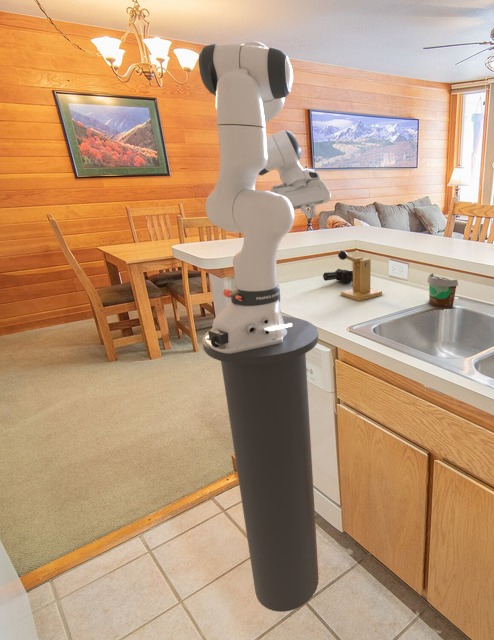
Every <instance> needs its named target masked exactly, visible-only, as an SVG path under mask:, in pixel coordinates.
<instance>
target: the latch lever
mask: <svg viewBox="0 0 494 640" xmlns="http://www.w3.org/2000/svg"><path fill="white" fill-rule="evenodd" d="M337 256H338V259H339V260H342V261H343V260H349V261H351V262H352V263H353V262H356V263H357V264H356V265H357V266H360V260H361V259H358V260H356V259H354V258H355V257H351V256H350V255H348V253H347V252H346V251H345V250H340V251H339V252H338V254H337Z"/></svg>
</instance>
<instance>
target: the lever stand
mask: <svg viewBox="0 0 494 640" xmlns="http://www.w3.org/2000/svg"><path fill="white" fill-rule="evenodd" d="M353 258H354V259H356V260H358V259H361V260H360V266H357V265H356V264H357V263H356V262H353V261H352V271H353V281H352V288H351V289H346V290H342V291H340V295H341V296H342V297H345V298H348V299H351V300H354V301H357V302H361V301H364V300H368V299H373V298H375V297H379V296H382V295H383V291H382V290H378V289H375V288H373V287H372V288H371V271H372V270H371V268H372V266H371V264H372V261H371V260H372V259H371V258H365V259H364V257H363V256H359V257H353Z"/></svg>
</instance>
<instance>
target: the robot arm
mask: <svg viewBox="0 0 494 640" xmlns="http://www.w3.org/2000/svg"><path fill="white" fill-rule="evenodd" d="M198 70H199V75H200V78H201V82H202V84H203V86H204V87H205V88H206V90H207V91H208V92H209V93H210V94H212V95H213V96H214V97H215V113H216V114H215V115H216V117H215V118H216V125H217V136H218V147H219V170H218V176H217V180H216V184H215V186H214V188H213V190H212V191H211V192H210V193H209V194H208V196H207V198H206V201H205V213H206V216H207V219H208V221H209V222H210V223H211V224H212V225H213V226H215V227H217V228H220V229H222V230H224V231H227V232H228V233H229V232H230V233H235V234H242V235H243V244H242V247H241V250H239V251H238V252H236V253H235V255H234V256H233V258H232V266H233V267H232V268H233V274H234V283H235V286H234V289H233V290H230V289H228V288H225V289H224V290H223V291H222V296H224V297H226V298H230V302H229V304H227V306H225V308H224V309H222V311H220V312H219V314H217V315H216V316H215V317H214V319H213V321H212V327H211V330H210V329H209V330H207V332H208V333H209V335H208V336H206V337H205V344H206V345H207V346H208V347H210V348H211V349H213V350H215V351H217V352H221V353H226V354H231V353H236V352H241V351H246V350H251V349H255V348H260V347H265V346H270V345H274V344H279V343H282V342H283V338H284V337H285V336H286V335H287V330H286V327H291V326H292V323H290V324H285V325H284V321H283V318H282V316H283V314H282V310H281V309H282V308H281V290H280V285H279V284H278V272H277V257H278V251H279V248H280V247H279V246H280V244H281V242H282V240H283V238H284V237H285V236H286V235H287V234H288V233H289V232H290V231H291V230H292V228H293V226H294V223H295V210H300V211H301V212H302V213H303V214H304V215H305V216H306V217H307V219H312V218H313V219H314V218H316V217H317V216H318V215H317V212H316V206H317V205H322V204H327V203H328V202H329V201H330V199H331V197H332V194H331V192H330V189H329V188H328V186H327V184H326V183H325V182H324V181H323V180H322V179H321V175H320V173H319V172H316V171H311V170H306V169H304V167H303V166H302V165H301V163H300V160H301V156H302V151H303V150H302V148H301V146H300V144H299V143H298V139H296V136H295V134H294V133H293V132H292V131H290V130H287V129H283V130H282V129H281V130H280V131H276V132H274V133H272V134H270V135H268V136H267V128H266V127H267V126H266V124H267V123H269V122H271V121H272V120H273V119H274V118H276V117H277V116H278V115H280V113H281V111H282V110H283V108H284V105H285V101H286V98H287V97H288V96H289V94H290V93H291V91H292V86H293V81H294V72H293V67H292V65H291V61H290V58H289V56H288V55H287V53H285V52H284V50H282V49H279V48H276V47H272V46H270V47H269V48H268V46H266V45H265V44H264V43H261V42H259V41H255V40H251V41H248V42H244V43H228V44H227V43H226V44H217V43H213V44H208V45H205V46H203V47H202V48H201V50H200V52H199V54H198ZM273 170H276V171H277V172H278V174H279V178H280V181H281V184H275V185H273V186H272V187H271V189H270V190H262V189H261V190H260V189H256V184H257V183H256V182H257V179H258V177H259V176H264V175H266V174H267V173H270V172H271V171H273ZM307 208H309V209H310V210H311V211H309V210H308V209H307Z"/></svg>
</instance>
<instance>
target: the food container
mask: <svg viewBox="0 0 494 640" xmlns="http://www.w3.org/2000/svg"><path fill="white" fill-rule="evenodd" d="M426 280H427V283H428V287H429V288H428V289H429V290H428V293H429V295H428V298H429V301H428V302H429V305H431V306H433V307H436V308H443V309H444V308H447V309H448V308H453V307H454V301H455V297H456V290H457V287H458V286H459V282H458V279H449V278H447V277H439V276H435V275H434V272H433V273H430V274H429V275H428V277H427V279H426Z"/></svg>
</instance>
